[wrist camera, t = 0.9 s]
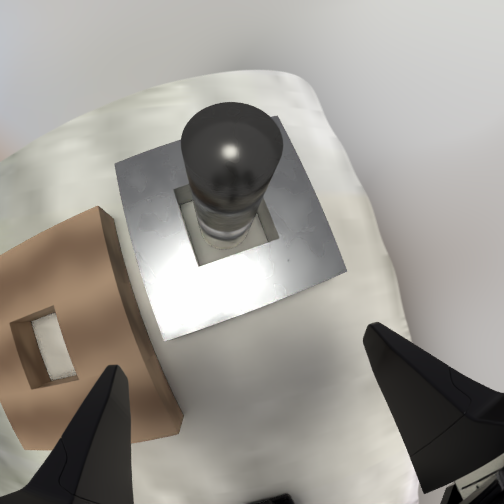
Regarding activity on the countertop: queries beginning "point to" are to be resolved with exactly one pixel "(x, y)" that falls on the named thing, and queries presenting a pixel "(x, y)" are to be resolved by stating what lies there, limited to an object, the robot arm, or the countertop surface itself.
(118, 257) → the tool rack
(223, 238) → the dark rounded cylinder
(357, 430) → the countertop surface
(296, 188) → the socket block
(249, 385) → the countertop surface
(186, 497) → the countertop surface
